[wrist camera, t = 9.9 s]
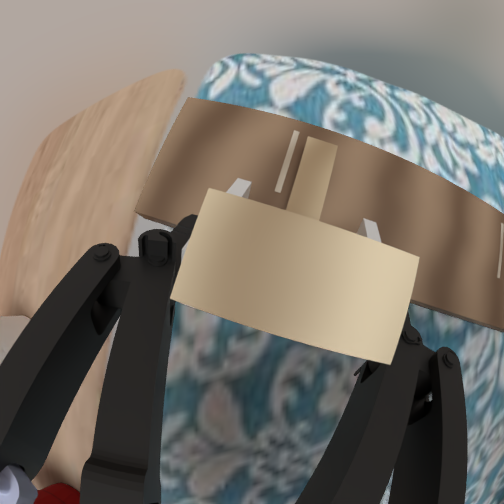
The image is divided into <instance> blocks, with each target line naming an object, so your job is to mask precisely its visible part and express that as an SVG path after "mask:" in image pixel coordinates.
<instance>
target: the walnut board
mask: <svg viewBox="0 0 504 504" xmlns="http://www.w3.org/2000/svg"><path fill="white" fill-rule="evenodd" d="M308 136H309V137H312V138H316V139H319V140H322V141H325V142H328V143H331V144H334V145H337V146H338V147H337V152H336V156H335V160H334V165H333V169H332V173H331V177H330V181H329V185H328V189H327V193H326V197H325V200H324V204H323V208H322V212H321V215H320V219H319V221H320V222H323V223H326V224H329V225H332V226H335V227H338V228H341V229H344V230H347V231H350V232H353V233H357V231H358V229H359V227H360V225H361V223H362V220H363V218H365V219H367V220H370V221H373V222H376V224H377V227H378V231H379V235H380V239H381V243H383V244H386V245H389V246H391V247H394V248H397V249H399V250H402V251H405V252H407V253H410V254H412V255H415V256H418V257H420V258H419V263H418V268H417V273H416V278H415V282H414V287H413V291H412V295H411V299H410V303H413V304H416V305H419V306H422V307H425V308H428V309H431V310H435V311H438V312H441V313H444V314H447V315H450V316H454V317H457V318H460V319H463V320H466V321H469V322H473V323H476V324H479V325H482V326H485V327H488V328H491V329H495V330H498V331H501V332H504V214H503V213H501V212H500V211H498V210H497V209H495V208H494V207H492V206H491V205H489V204H487V203H486V202H484V201H483V200H481V199H479V198H478V197H476V196H474V195H473V194H471V193H469V192H468V191H466V190H464V189H462V188H461V187H459V186H457V185H455V184H453V183H451V182H450V181H448V180H446V179H444V178H442V177H440V176H438V175H436V174H434V173H432V172H430V171H428V170H426V169H424V168H422V167H420V166H418V165H416V164H414V163H412V162H409V161H407V160H405V159H403V158H401V157H398V156H396V155H394V154H391V153H389V152H387V151H384V150H382V149H379V148H377V147H374V146H372V145H369V144H367V143H364V142H362V141H359V140H356V139H353V138H351V137H348V136H345V135H342V134H339V133H337V132H334V131H331V130H328V129H324V128H321V127H318V126H315V125H312V124H308V123H305V122H302V121H298V120H295V119H291V118H287V117H284V116H280V115H276V114H272V113H268V112H264V111H260V110H255V109H251V108H246V107H241V106H237V105H232V104H226V103H221V102H215V101H209V100H203V99H197V98H190V97H188V99H187V100H186V102H185V104H184V106H183V107H182V109H181V111H180V113H179V115H178V117H177V119H176V121H175V123H174V124H173V126H172V128H171V130H170V132H169V134H168V136H167V138H166V140H165V142H164V144H163V146H162V149H161V150H160V152H159V154H158V157H157V159H156V161H155V163H154V165H153V167H152V170H151V172H150V174H149V176H148V179H147V181H146V183H145V186H144V188H143V190H142V193H141V195H140V198H139V200H138V203H137V205H136V208H135V210H134V211H135V212H136V213H138V214H139V215H140V216H142V217H143V218H145V219H148V220H151V221H155V222H158V223H161V224H164V225H167V226H170V227H173V228H175V227H176V226H177V225H178V223H179V222H180V221H181V220H182V219H183V218H184V217H187V216H189V215H191V214H194V215H199V212H200V210H201V207H202V204H203V202H204V199H205V196H206V194H207V191H208V189H209V188H211V189H215V190H219V191H222V192H227V191H228V189H229V188H230V187H231V186H232V185H233V183H234V182H235V181H236V180H237V178H240V179H243V180H247V181H250V182H252V184H251V188H250V192H249V197H248V199H250V200H253V201H257V202H260V203H263V204H267V205H270V206H273V207H277V208H280V209H283V210H286V208H287V205H288V201H289V198H290V195H291V192H292V188H293V185H294V182H295V178H296V175H297V172H298V169H299V165H300V162H301V158H302V155H303V152H304V148H305V145H306V142H307V138H308Z"/></svg>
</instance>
